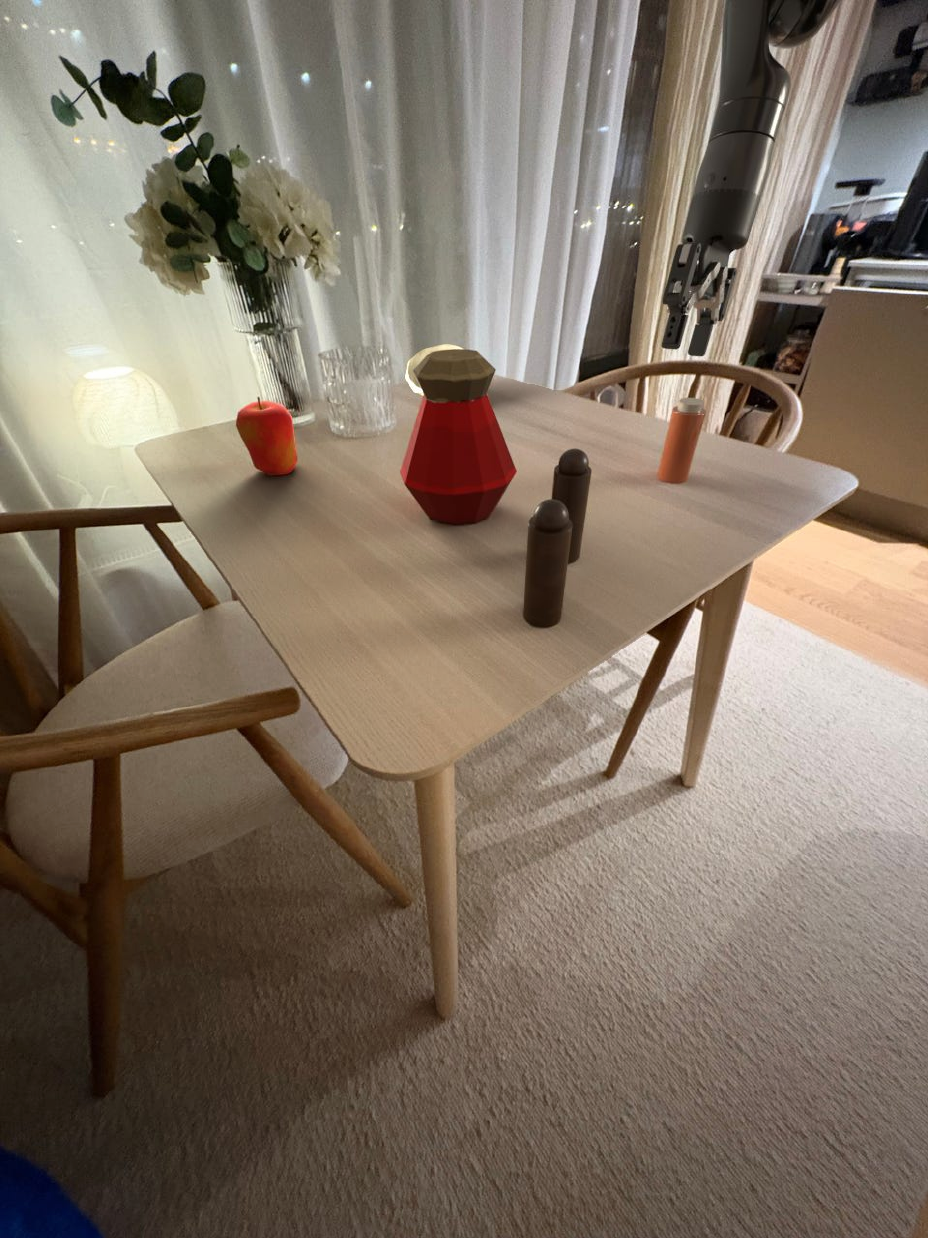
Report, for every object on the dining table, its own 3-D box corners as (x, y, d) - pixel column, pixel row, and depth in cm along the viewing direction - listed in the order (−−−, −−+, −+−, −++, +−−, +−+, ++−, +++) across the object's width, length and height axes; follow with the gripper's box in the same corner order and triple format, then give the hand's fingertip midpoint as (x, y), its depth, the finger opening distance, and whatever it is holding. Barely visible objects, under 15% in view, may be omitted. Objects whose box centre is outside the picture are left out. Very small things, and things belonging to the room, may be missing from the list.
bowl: (398, 410, 104) (392, 358, 97) (421, 390, 114) (417, 342, 107) (466, 415, 100) (464, 361, 94) (483, 394, 110) (483, 344, 104)
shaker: (687, 472, 77) (708, 397, 69) (687, 485, 73) (709, 407, 66) (657, 469, 78) (675, 395, 70) (656, 481, 75) (674, 404, 67)
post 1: (564, 607, 53) (578, 493, 44) (557, 631, 50) (571, 515, 41) (527, 600, 54) (535, 488, 45) (518, 623, 51) (524, 508, 42)
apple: (245, 469, 83) (220, 396, 76) (293, 456, 87) (273, 385, 79) (263, 486, 78) (238, 409, 70) (312, 471, 82) (294, 397, 74)
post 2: (581, 548, 61) (597, 444, 53) (576, 566, 58) (591, 458, 50) (550, 544, 62) (559, 440, 54) (543, 561, 60) (552, 454, 51)
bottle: (396, 535, 65) (373, 371, 52) (411, 489, 75) (395, 343, 62) (515, 536, 64) (522, 369, 51) (514, 489, 74) (520, 340, 61)
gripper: (739, 170, 51) (690, 348, 58) (777, 210, 60) (730, 359, 67) (670, 180, 55) (632, 344, 62) (715, 216, 65) (677, 355, 72)
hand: (683, 352), depth 65 cm, fingers open, 8 cm apart
